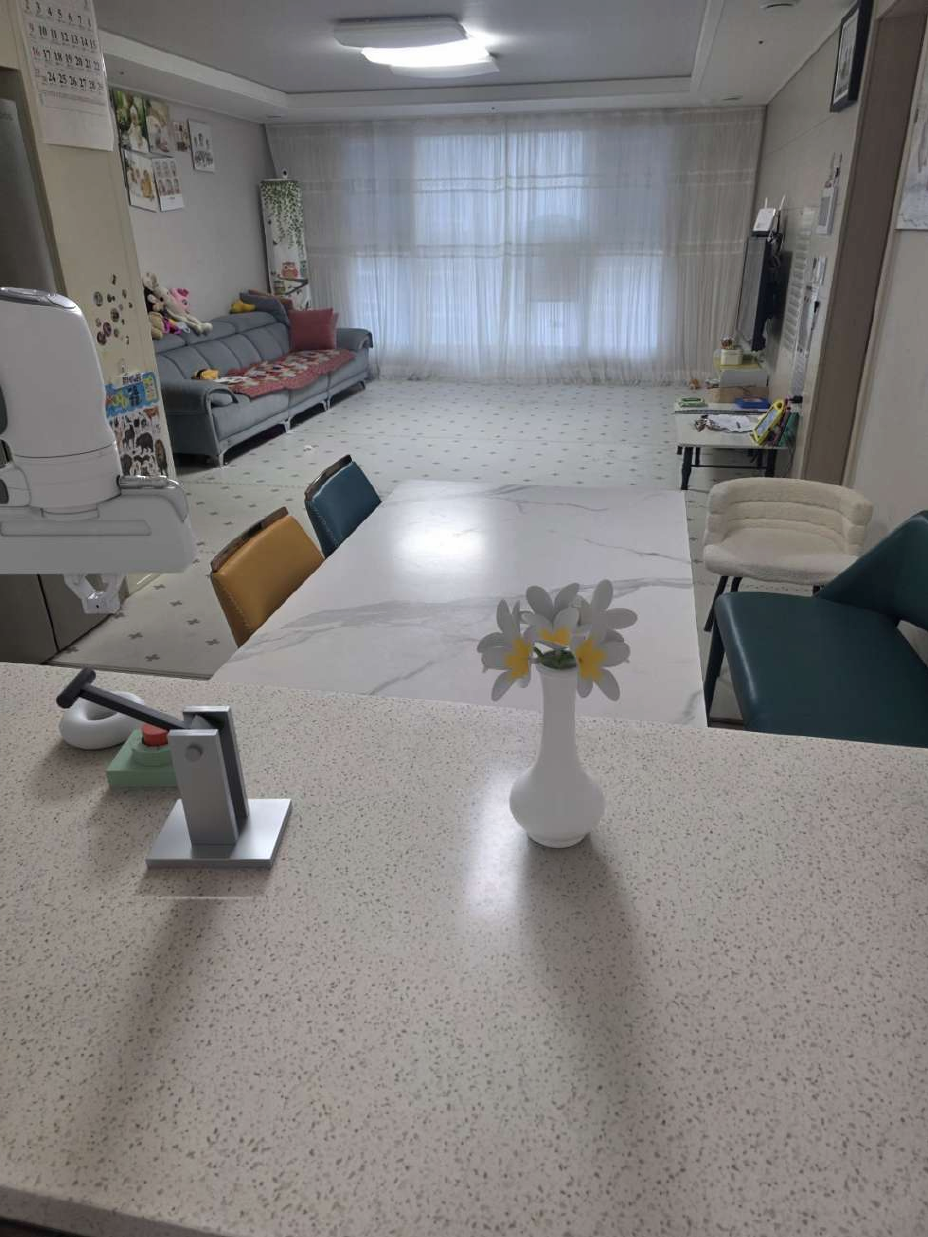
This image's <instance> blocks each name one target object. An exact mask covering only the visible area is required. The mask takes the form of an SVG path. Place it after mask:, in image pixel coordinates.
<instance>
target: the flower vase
mask: <svg viewBox="0 0 928 1237" xmlns="http://www.w3.org/2000/svg"><path fill="white" fill-rule="evenodd" d="M580 587H581V585H580V583H579V582H572V583H570V584H567V585H566V586H564V587H563V588H561V590H559V592H558V593H557V594H556V596H555V597H554V599H553V600H554V601H553V600H552V598H551V596H550V594H549V593H548V591H547V590H545V589H544V588H543V587H541V586H538V585H530V586H529V587H527V589H526V591H525V599H526V602H527V604H528V605H529V607H530V608H531V610H532V611H530V610H521V600H520V599H517V600H516V601H515V603H514V605H513V607H512V611H511V610H510V608H509V605H508V603H507V601H506V600H505V599H504V598H502V599H500V601H499V602H498V604H497V608H496V615H495V618H496V624H497V627H498V629H499V630H500V631H501V632H500V631H492V632H490V633H488V634H486V635H485V636H483V637H482V639H480V640H479V642H478V644H477V646H476V652H477V653H478V654H481V659H480V661H481V664H482V665H483V668H482V671H481V673H482V674H486V672H488V671H489V670H493V671H494V670H495V671H504V672H501V673H500V674H499V675H498V676H497V678H496V679H495V681H494V683H493V686H492V689H491V696H490V697H491V698H490V699H491V701H492V702H494V703H495V702H498V701H500V699H502V698H503V696H505V695H506V693H507V691H508V690H510V688H511V687H512V686H513V685H514V684H515V683H516V684H517V686H518V687H520V688H521V689H526V688H527V687H528V686H529V685H530V683H531V680H532V665H534V666H535V669H536V671H537V673H538V674H539V680H540V686H541V692H542V693H541V694H542V719H541V721H542V722H541V734H540V735H541V736H540V746H539V750H538V753H537V756H536V758H535V760H534V762H533V764H531V765H530V766H529V767H527V768H526V769H524V770H523V771H522V772H521V773H520V774H519V775H518V777H517V778H516V779H515V781H513V784H512V787H511V789H510V794H509V796H508V803H509V804H508V805H509V810H510V813H511V815H512V816H513V819H514V820H515V822H516V823H517V824H518V825H519V827H521V828H522V829H523V830H524V831H525V832H526V834H527V835H528V837H529V838H531V840H533V842H535V843H537V844H539V845H541V846H544V847H546V848H552V849H565V848H569V847H573V846H575V845H578V844H579V843H580V842H581V841H583V840H584V838H585V837H586V835H588V834H589V833H590V832H591V831H593V830H594V829H595V828H596V827H597V826H598V825H599V824H600V822H601V820H602V819H603V817H604V815H605V809H606V798H605V794H604V791H603V788H602V785H601V784H600V783H599V781H598V780H597V779H596V777H595V776H594V775H593V773H592V772H590V771H589V770H588V769H587V768H585V767H584V766H583V765H582V763H581V760H580V758H579V755H578V750H577V741H576V739H577V738H576V701H577V700H576V699H577V694H578V696H579V697H580V698H581V699H586V698H588V697H589V695H590V694H591V693H592V690H593V687H594V684H595V685H596V686H597V687H598V688H599V690H600V691H601V692H602V693H603V695H604V696H605V697H606V698H608V700H610V701H613V702H617V701H618V700H620V697H621V691H620V690H621V689H620V686H619V683H618V681H617V679H616V677H615V676H614V674H613V673H612V672H611V671H610V670H608V669H606V668H613V667H618V666H619V665H621V664H623V663H626V664H631V663H630V660H629V657H630V655H631V648H630V646H629V644H627V643H626V642H625V637H623V635H622V634H621V633H620V632H619V631H617V630H622V629H627V628H630V627H631V626H633V625H635V624H636V623H637V621H638V620H639V619H638V614H637V612H635V611H634V610H632V609H629V608H625V607H612V608H609V607H610V606H611V604H612V600H613V597H614V588H613V583H612V581H610V579H606V578H605V579H602V580H600V581H599V582H598V583H597V585H596V586H595V587H594V589H593V592H592V594H591V597H590V599H589V602H588V600H587V599H586V598H585V597H583V595H581V594H578V592H579V590H580ZM521 625H528V627H527V628H525V630H524V631H523V632H521ZM536 643H537V644H540V645H543V646H546V647H548V648H550V649H549V650H545V651H543V652H542V650H541V649H540V648H538V647H537V646H536ZM534 653H535V654H536V655H537V657H534Z"/></svg>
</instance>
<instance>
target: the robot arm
mask: <svg viewBox="0 0 928 1237" xmlns="http://www.w3.org/2000/svg"><path fill="white" fill-rule="evenodd" d="M106 400H107V388H106V384H105V378H104V376H103V370H102V367H101V362H100V359H99V354H98V351H97V349H96V344H95V341H94V338H93V335H92V331H91V329H90V327H89V324H88V322H87V319H86V318H85V315H84V313H83V311H82V310H81V309H80V308H79V306H78V305H77V303H75V302H73V301H72V300H71V299H70V298H68V297H66V296H64V295H61V294H59V293H57V292H52V291H47V290H43V289H38V288H37V289H36V288H29V287H13V286H0V440H1V441H4V442H5V443H6V444H7V445H8V447H9V450H10V454H11V458H12V460H9V461H7V462H5V463H2V464H0V575H63V579H64V583H65V585H66V586H67V587H68V588H69V589H70V590H71V591H72V592H73V593H74V594H75V595H76V596H77V597H78V598H79V599H81V604H82V608H83V612H84V613H85V614H116V613H117V612H119V610H120V609H121V601H120V598H119V593H118V592H119V591H120V588H121V586H122V583H123V581H124V579H125V576H126V574H128V575H129V574H133V575H134V574H135V575H137V574H138V575H140V574H144V575H145V574H182V573H184V572H185V571H187V569H188V568H190V566H191V565H192V564H193V562H195V560H196V558H197V556H198V552H199V551H198V546H197V542H196V537H195V532H194V529H193V527H192V523H191V520H190V518H189V511H190V510H189V503H188V502H189V501H188V496H187V492H186V490H185V488H184V487H183V486H181V485H180V483H178V482H177V481H174V480H172V479H169V477H168V476H166V475H160V474H159V475H157V474H156V475H152V476H144V475H124V473H123V472H124V471H123V467H122V461H121V457H120V452H119V448H118V442H117V438H116V435H115V432H114V429H113V427H112V426H111V424H110V422H109V420H108V416H107V412H106ZM169 485H170V486H169ZM88 575H100V577H101V581H102V583H103V584H108V585H107V588H106V590H105V591H104V590H103V591H101V590H96V589H95V588H94V587H93V585H91V583H90V582H89V581H88V579H87V578H86V577H87V576H88Z"/></svg>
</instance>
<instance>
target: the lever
mask: <svg viewBox="0 0 928 1237" xmlns="http://www.w3.org/2000/svg"><path fill="white" fill-rule="evenodd" d="M96 678H97V673H96V670H94V669H92V668H91V667H84V668H82V669H81V670H80V671H79V672H78V673H77V674H76V676H75V677H74V678H73V679H72V680H71V681H70V682H69V683H68V684H67V685H66V686H65V687H64V689H63V690H62V691H61V692H60V693H59V694H58V695H57V696H56V698H55V703H56V705H57V706H59V707H60V708H61V709H63V710H67V709H68V708H70V707H71V706H72V705H73V704H75V703H76V702H78V700H79V698H80V699H85V700H88V701H90V702H93V703H95V704H98V705H101V706H103V707H106V708H108V709H111V710H114V711H116V712H119V713H121V714H124V715H127V716H129V717H132V718H134V719H137V720H140V721H142V722H145V723H147V724H150V725H153V726H155V727H158V728H160V729H163V730H166V731H168V732H170V730H218V733H219V738H220V736H221V733H222V731H223V728H224V726H223V725H220V724H218V723H215V722H212V721H210V720H207V719H205V718H202V717H200V716H197V715H196V716H195V717H194V719H193V721H192V722H191V723H188V722H185V721H184V719H181V718H178V717H176V716H173V715H170V714H168V713H165V712H162V711H160V710H157V709H155V708H152V707H150V706H147V705H146V706H144V705H142V704H139V703H137V702H134V701H131V700H129V699H126V698H124V697H121V696H119V695H116V694H113V693H111V692H110V691H108V690H106V689H103V688H100V687H99V686H95V685H93V682H94V681H95V680H96Z"/></svg>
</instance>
